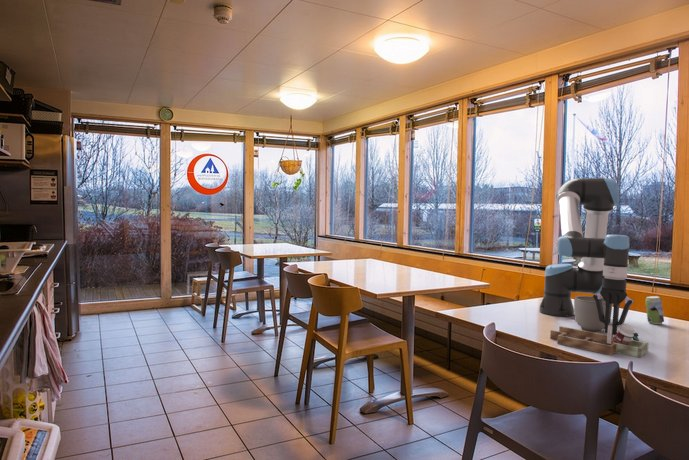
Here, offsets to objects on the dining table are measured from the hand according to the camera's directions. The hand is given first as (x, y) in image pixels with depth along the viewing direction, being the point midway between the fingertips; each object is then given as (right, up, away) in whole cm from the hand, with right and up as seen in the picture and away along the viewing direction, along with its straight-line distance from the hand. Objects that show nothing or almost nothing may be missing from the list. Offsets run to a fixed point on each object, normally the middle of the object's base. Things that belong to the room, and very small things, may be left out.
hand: (609, 342), depth 170 cm
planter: (+6, -1, +24) cm, 24 cm away
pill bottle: (+2, -1, -2) cm, 3 cm away
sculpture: (+14, -2, +7) cm, 16 cm away
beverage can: (+41, -1, +38) cm, 56 cm away
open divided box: (-5, -2, +2) cm, 5 cm away
